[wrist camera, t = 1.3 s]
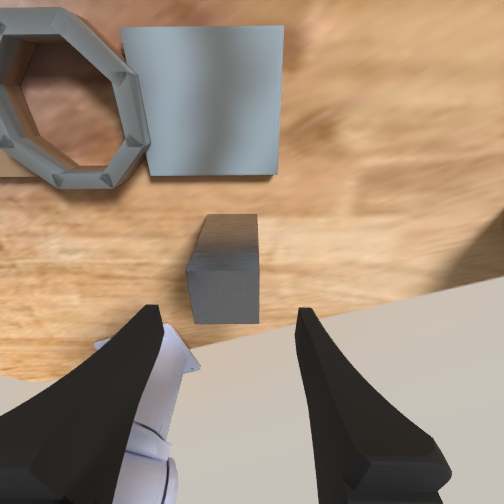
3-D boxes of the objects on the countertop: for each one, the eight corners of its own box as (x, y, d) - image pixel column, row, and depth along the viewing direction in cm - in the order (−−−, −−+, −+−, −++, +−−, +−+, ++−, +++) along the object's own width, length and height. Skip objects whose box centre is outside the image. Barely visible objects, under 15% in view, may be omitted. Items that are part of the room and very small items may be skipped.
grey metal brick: (212, 256, 23) (194, 323, 16) (207, 214, 20) (185, 271, 14) (257, 256, 23) (259, 323, 16) (257, 214, 20) (259, 270, 14)
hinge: (-67, 181, 19) (-106, 190, 17) (-171, 23, 14) (-241, 10, 12) (276, 178, 19) (279, 187, 17) (282, 17, 14) (287, 3, 12)
